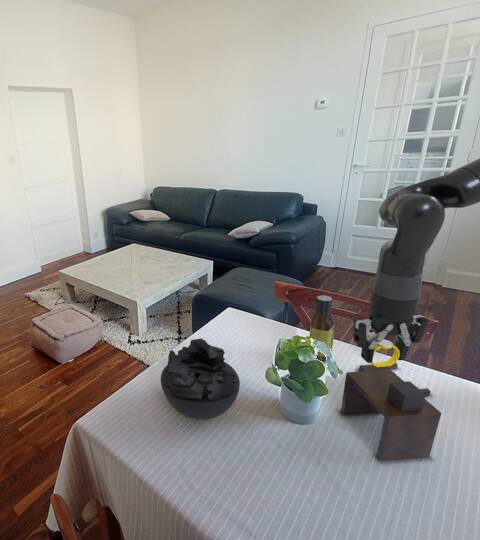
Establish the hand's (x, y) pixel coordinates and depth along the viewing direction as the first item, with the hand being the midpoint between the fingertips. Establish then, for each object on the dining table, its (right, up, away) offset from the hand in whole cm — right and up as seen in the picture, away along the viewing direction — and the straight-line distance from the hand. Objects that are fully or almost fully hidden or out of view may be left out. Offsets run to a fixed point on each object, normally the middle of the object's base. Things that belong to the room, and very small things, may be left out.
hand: (382, 359), depth 75 cm
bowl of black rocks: (-37, -18, +16) cm, 44 cm away
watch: (0, -2, +1) cm, 2 cm away
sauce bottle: (+4, -7, +31) cm, 32 cm away
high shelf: (+2, -18, +3) cm, 18 cm away
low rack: (+16, -11, +17) cm, 26 cm away
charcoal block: (0, -8, -5) cm, 9 cm away
